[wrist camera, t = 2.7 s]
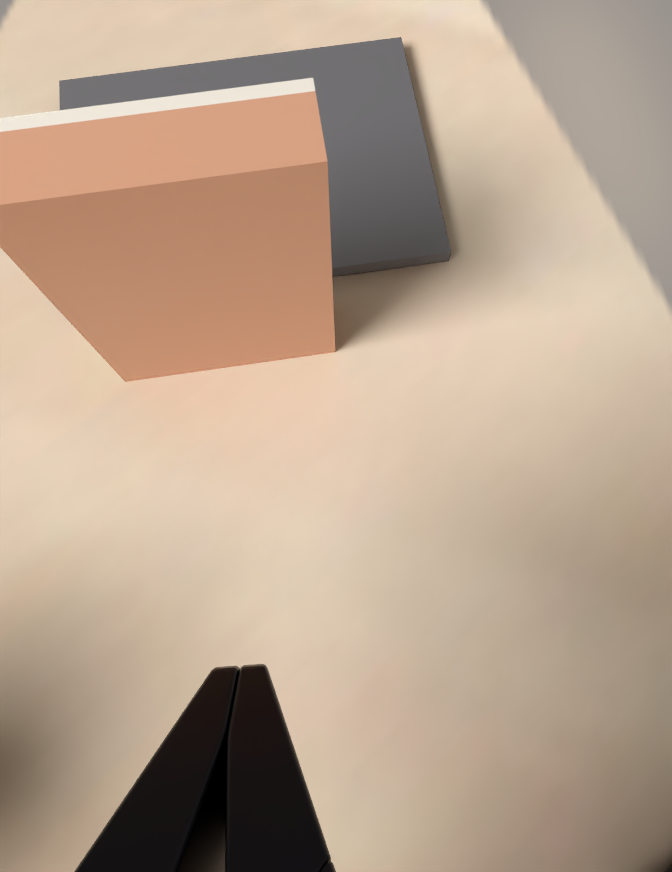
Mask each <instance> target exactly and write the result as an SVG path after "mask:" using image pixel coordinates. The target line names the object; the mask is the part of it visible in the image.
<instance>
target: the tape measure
mask: <svg viewBox="0 0 672 872" xmlns="http://www.w3.org/2000/svg"><path fill="white" fill-rule="evenodd" d="M664 872H672V864H671V865H670V866H669V867H668V868H667V869H666V870H665V871H664Z"/></svg>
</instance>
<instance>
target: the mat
mask: <svg viewBox="0 0 672 872" xmlns="http://www.w3.org/2000/svg"><path fill="white" fill-rule="evenodd" d="M306 78H313V80H314V86H315V92H316V97H317V103H318V109H319V115H320V121H321V126H322V132H323V138H324V144H325V150H326V155H327V161H328V184H329V208H330V232H331V256H332V277H334V276H341V275H348V274H356V273H363V272H370V271H377V270H385V269H392V268H399V267H406V266H414V265H421V264H428V263H435V262H443V261H449V257H450V254H451V250H450V245H449V241H448V237H447V232H446V228H445V224H444V219H443V215H442V211H441V207H440V202H439V198H438V194H437V189H436V185H435V181H434V176H433V172H432V168H431V164H430V159H429V155H428V151H427V146H426V142H425V138H424V134H423V129H422V125H421V121H420V116H419V112H418V108H417V103H416V99H415V95H414V91H413V86H412V82H411V78H410V73H409V69H408V65H407V61H406V56H405V52H404V48H403V43H402V39H401V37H399V38H391V39H383V40H375V41H367V42H360V43H352V44H344V45H336V46H328V47H320V48H313V49H305V50H297V51H289V52H281V53H274V54H266V55H258V56H250V57H242V58H234V59H227V60H219V61H211V62H203V63H195V64H187V65H180V66H172V67H164V68H156V69H148V70H140V71H133V72H125V73H117V74H109V75H101V76H93V77H86V78H78V79H70V80H62V81H59V86H60V110H66V109H74V108H82V107H90V106H97V105H105V104H113V103H121V102H128V101H136V100H144V99H152V98H159V97H167V96H175V95H183V94H190V93H198V92H206V91H213V90H221V89H229V88H237V87H244V86H252V85H260V84H268V83H275V82H283V81H291V80H299V79H306Z"/></svg>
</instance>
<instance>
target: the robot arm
mask: <svg viewBox="0 0 672 872" xmlns="http://www.w3.org/2000/svg"><path fill="white" fill-rule="evenodd" d="M75 872H336V871H335V868H334V865H333V863H332V862H331V857H330V854H329V851H328V848H327V845H326V842H325V839H324V836H323V833H322V830H321V827H320V824H319V821H318V818H317V815H316V812H315V809H314V806H313V803H312V800H311V797H310V794H309V791H308V788H307V785H306V782H305V779H304V776H303V773H302V770H301V767H300V764H299V761H298V758H297V755H296V752H295V749H294V746H293V743H292V740H291V737H290V734H289V731H288V728H287V725H286V722H285V719H284V716H283V713H282V710H281V707H280V704H279V701H278V698H277V695H276V692H275V689H274V686H273V683H272V680H271V677H270V674H269V671H268V669H267V666H266V665H264V664H256V665H244V666H242V667H241V669H240V668H239V667H237V666H227V667H216V668H214V669H213V670H212V671H211V672H210V673H209V675H208V676H207V678H206V679H205V681H204V682H203V684H202V685H201V687H200V688H199V690H198V691H197V693H196V694H195V695H194V697H193V698H192V700H191V701H190V703H189V704H188V706H187V707H186V709H185V710H184V712H183V713H182V715H181V716H180V718H179V719H178V720H177V722H176V723H175V725H174V726H173V728H172V729H171V731H170V732H169V734H168V735H167V737H166V738H165V740H164V741H163V743H162V744H161V745H160V747H159V748H158V750H157V751H156V753H155V754H154V756H153V757H152V759H151V760H150V762H149V763H148V765H147V766H146V767H145V769H144V770H143V772H142V773H141V775H140V776H139V778H138V779H137V781H136V782H135V784H134V785H133V787H132V788H131V790H130V791H129V792H128V794H127V795H126V797H125V798H124V800H123V801H122V803H121V804H120V806H119V807H118V809H117V810H116V812H115V813H114V815H113V816H112V817H111V819H110V820H109V822H108V823H107V825H106V826H105V828H104V829H103V831H102V832H101V834H100V835H99V837H98V838H97V839H96V841H95V842H94V844H93V845H92V847H91V848H90V850H89V851H88V853H87V854H86V856H85V857H84V859H83V860H82V862H81V863H80V864H79V866H78V867H77V869H76V870H75Z"/></svg>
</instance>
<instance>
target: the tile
mask: <svg viewBox="0 0 672 872" xmlns="http://www.w3.org/2000/svg"><path fill="white" fill-rule="evenodd" d="M0 247H1V248H2V249H3V251H4V252H5V253H6V254H7V255H8V256H9V257H10V258H11V259H12V260H13V261H14V262H15V263H16V265H17V266H18V267H19V268H20V269H21V270H22V271H23V272H24V273H25V274H26V275H27V276H28V277H29V279H30V280H31V281H32V282H33V283H34V284H35V285H36V286H37V287H38V288H39V289H40V290H41V291H42V293H43V294H44V295H45V296H46V297H47V298H48V299H49V300H50V301H51V302H52V303H53V304H54V305H55V307H56V308H57V309H58V310H59V311H60V312H61V313H62V314H63V315H64V316H65V317H66V318H67V319H68V321H69V322H70V323H71V324H72V325H73V326H74V327H75V328H76V329H77V330H78V331H79V332H80V333H81V335H82V336H83V337H84V338H85V339H86V340H87V341H88V342H89V343H90V344H91V345H92V346H93V347H94V349H95V350H96V351H97V352H98V353H99V354H100V355H101V356H102V357H103V358H104V359H105V360H106V361H107V363H108V364H109V365H110V366H111V367H112V368H113V369H114V370H115V371H116V372H117V373H118V374H119V375H120V377H121V378H122V379H123V380H124V381H125V382H126V381H133V380H140V379H147V378H154V377H161V376H169V375H176V374H183V373H190V372H197V371H204V370H211V369H218V368H225V367H232V366H239V365H246V364H253V363H261V362H268V361H275V360H282V359H289V358H296V357H303V356H310V355H317V354H324V353H331V352H335V328H334V304H333V280H332V256H331V232H330V208H329V184H328V161H327V155H326V150H325V144H324V138H323V132H322V126H321V121H320V115H319V109H318V103H317V97H316V92H315V86H314V80H313V78H306V79H299V80H291V81H283V82H275V83H268V84H260V85H252V86H244V87H237V88H229V89H221V90H213V91H206V92H198V93H190V94H183V95H175V96H167V97H159V98H152V99H144V100H136V101H128V102H121V103H113V104H105V105H97V106H90V107H82V108H74V109H66V110H59V111H51V112H43V113H36V114H28V115H20V116H12V117H5V118H0Z"/></svg>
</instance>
